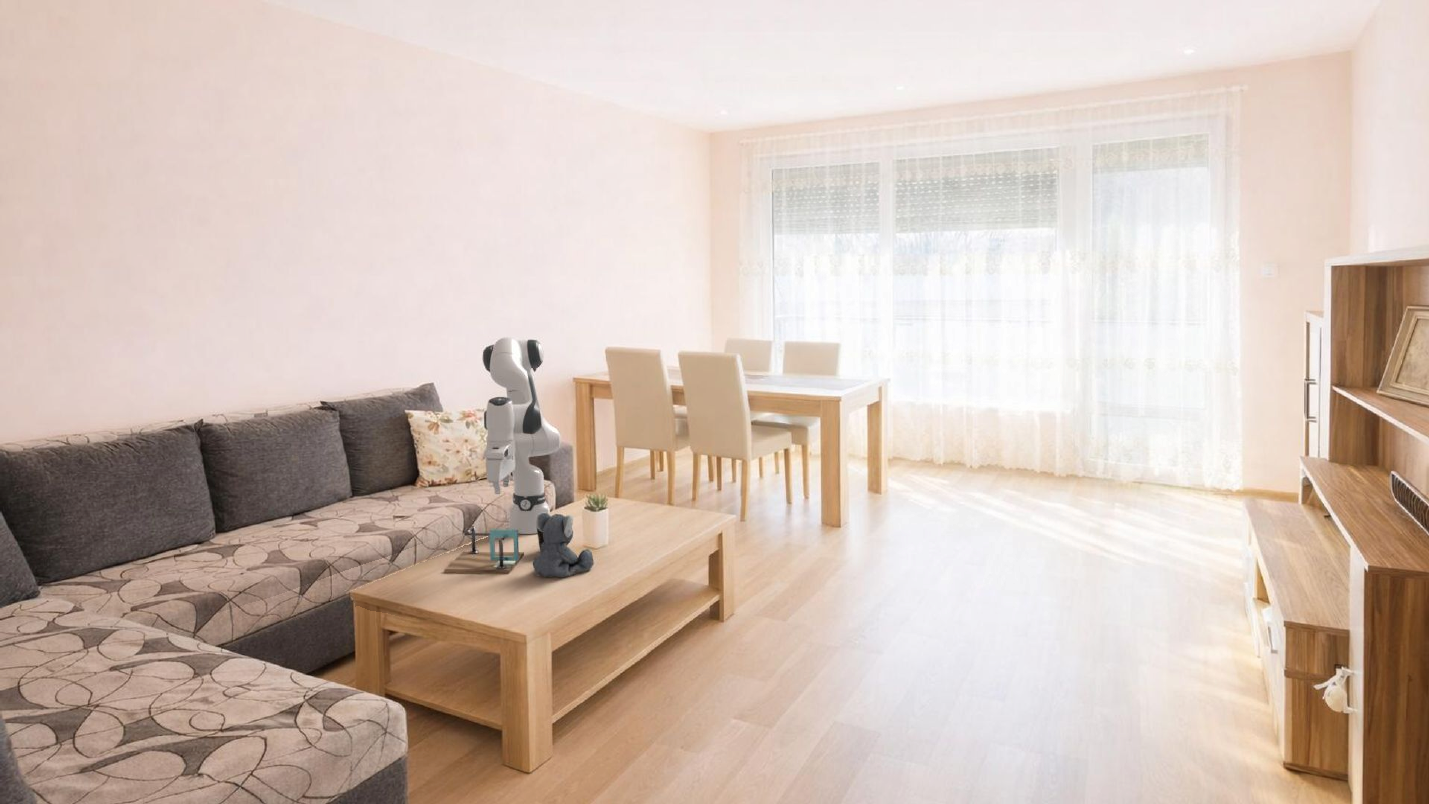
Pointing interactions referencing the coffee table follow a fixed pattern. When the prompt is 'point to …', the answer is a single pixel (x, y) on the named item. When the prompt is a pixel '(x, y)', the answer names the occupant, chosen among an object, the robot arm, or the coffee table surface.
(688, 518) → the coffee table surface
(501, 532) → the teal picture frame
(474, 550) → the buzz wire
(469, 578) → the coffee table surface
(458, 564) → the board
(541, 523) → the koala plush
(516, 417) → the robot arm
